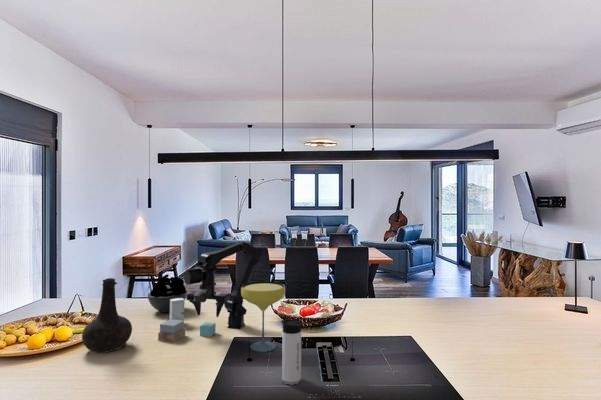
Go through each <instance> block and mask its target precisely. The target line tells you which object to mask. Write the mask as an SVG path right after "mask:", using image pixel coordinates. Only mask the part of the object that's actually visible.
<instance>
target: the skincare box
mask: <svg viewBox="0 0 601 400" xmlns="http://www.w3.org/2000/svg"><path fill="white" fill-rule="evenodd" d="M170 319H173V320H181V321H184V322H185V301H184V299H183V298H176V299H170V312H169V320H170Z"/></svg>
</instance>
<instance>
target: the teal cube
mask: <svg viewBox="0 0 601 400" xmlns="http://www.w3.org/2000/svg"><path fill="white" fill-rule="evenodd" d="M216 326H217V325H216V323H215V322H208V321H205V322H204V323H202V324H200V325H199V336H200V337H206V338H207V337H209V338H210V337H211V338H212V336H214V335H215V334H216V332H217V331H216Z"/></svg>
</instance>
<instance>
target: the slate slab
mask: <svg viewBox="0 0 601 400" xmlns="http://www.w3.org/2000/svg"><path fill="white" fill-rule="evenodd" d="M184 324H185V320H184V321H181V320H173V319H170V318H169V319H168V320H166V321H163V322H162V323H160V324H159V332H162V333H169V334H175V333H177V332H179V331H180V330H182V329H184V328H185V327H184V326H185V325H184Z"/></svg>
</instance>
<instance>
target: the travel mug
mask: <svg viewBox="0 0 601 400" xmlns="http://www.w3.org/2000/svg"><path fill="white" fill-rule="evenodd" d="M281 324H282V340H281V341H282V347H281V348H282V349H281V352H282V356H281V357H282V361H281V363H282V365H281V366H282V368H281V371H282V372H281V373H282V374H281V376H282V377H281V379H282V380H281V381H282V383H283V382H284V384H285V385H287V384H289V385H288V386H295V385H294V384H296V385H298V384H300V383H301V381H302V323H301V321H299V320H296V319H281ZM299 382H300V383H299Z"/></svg>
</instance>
